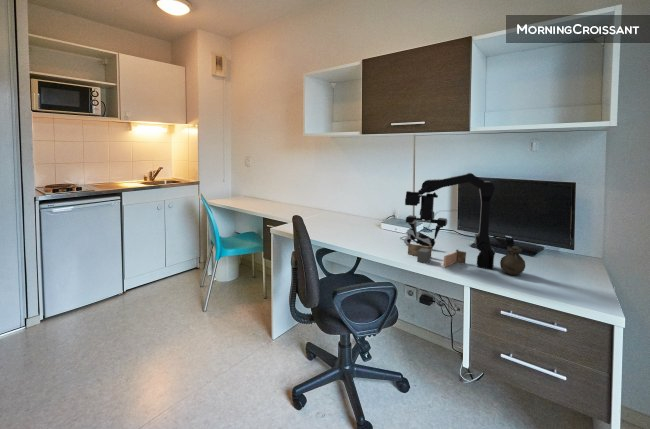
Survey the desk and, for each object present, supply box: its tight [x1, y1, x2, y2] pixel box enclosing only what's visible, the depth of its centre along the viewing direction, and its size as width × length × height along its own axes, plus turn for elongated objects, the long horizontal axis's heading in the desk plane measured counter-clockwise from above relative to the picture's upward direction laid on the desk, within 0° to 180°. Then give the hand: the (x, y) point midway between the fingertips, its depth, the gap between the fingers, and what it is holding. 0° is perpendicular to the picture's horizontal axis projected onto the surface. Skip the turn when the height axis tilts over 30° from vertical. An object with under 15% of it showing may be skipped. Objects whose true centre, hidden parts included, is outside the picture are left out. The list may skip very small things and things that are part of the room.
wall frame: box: [407, 243, 467, 264], centre depth 172 cm, size 28×2×6 cm, turn 59°
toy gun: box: [403, 227, 436, 250], centre depth 192 cm, size 2×17×10 cm, turn 51°
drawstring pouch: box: [499, 245, 526, 276], centre depth 150 cm, size 10×10×12 cm
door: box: [443, 251, 458, 268], centre depth 162 cm, size 11×1×5 cm, turn 134°
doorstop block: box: [416, 248, 431, 264], centre depth 168 cm, size 6×4×6 cm
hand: (425, 237), depth 167 cm, fingers open, 9 cm apart
